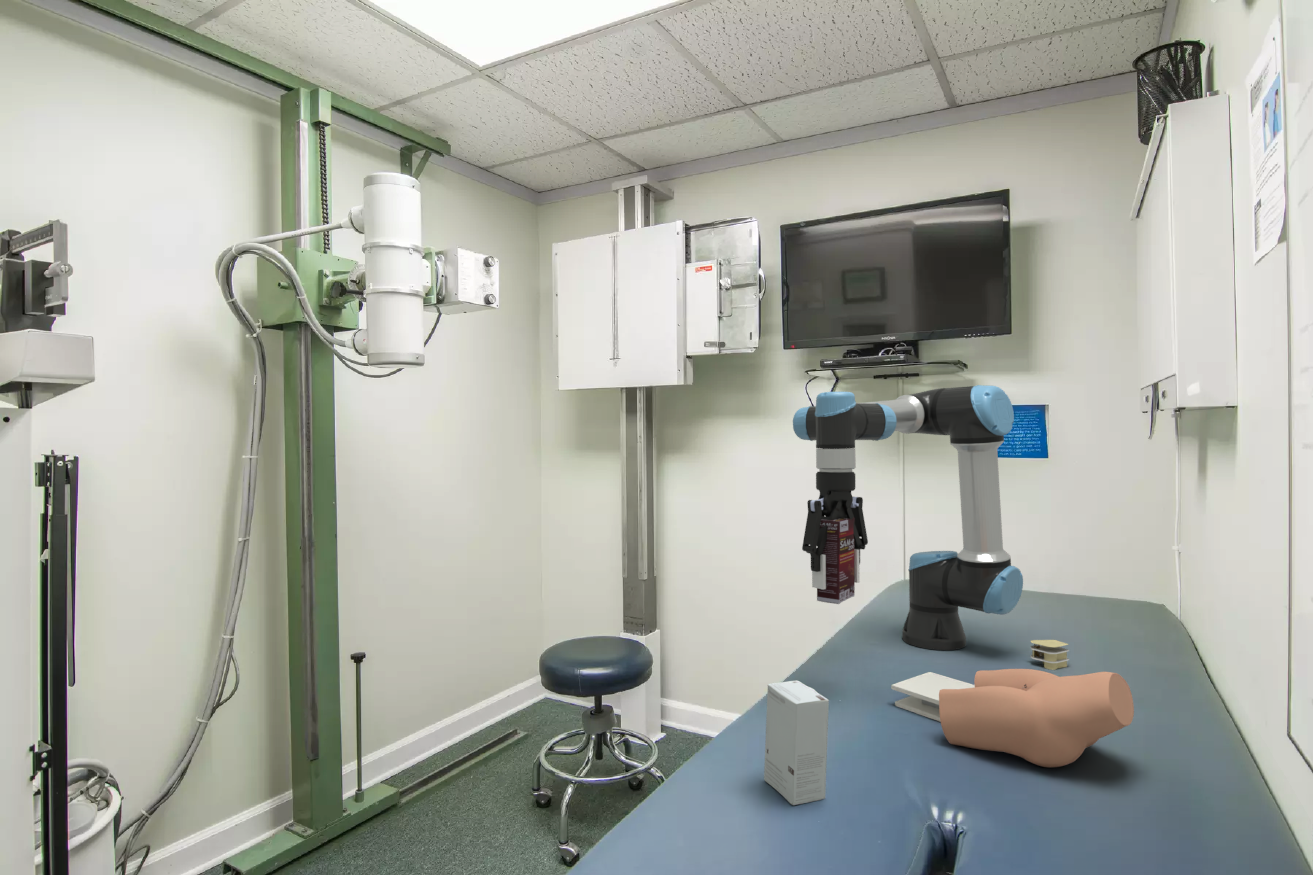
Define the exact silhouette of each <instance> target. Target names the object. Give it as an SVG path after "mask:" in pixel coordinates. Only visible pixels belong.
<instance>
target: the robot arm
mask: <svg viewBox="0 0 1313 875" xmlns="http://www.w3.org/2000/svg"><path fill="white" fill-rule="evenodd" d="M1014 415H1015V413H1014V408H1013V404H1012V401H1011V399H1010V397H1009V396H1008V394H1007V393H1006V392H1005V391H1004V390H1003V389H1002V388H1001V387H999V386H996V385H981V384H978V385H977V384H976V385H971V386H968V385H967V386H958V387H956V386H955V387H946V388H945V387H943V388H934V389H929V390H926V391H925V390H923V391H921V392H915V393H911V394H904V395H903V394H902V395H900V396H898V397H897V398H895V399H891V400H889V399H887V400H879V401H867V402H866V401H865V402H856V397H855V394H854V393H853V392H852V391H851V392H850V391H827V392H826V391H824V392H820V393H819V394H818V395H816V400H815V405H813V406H812V405H810V406H805V407H800V408H798V410H796V412H795V413H794V414H793V417H792V418H793V419H792V429H793V431H794V434H795V436H796V437H797V438H799V440H803V441H811V442H813V441H815V448H816V449H815V458H816V460H815V461H816V463H815V464H816V469H817V470H819V471H817V472H816V473H815V488H816V490H817V491H819V496H818V499H815V500H814V499H808V500H807V516H806V522H805V529H804V533H803V534H804V535H803V542H802V547H801V548H802V551H803V552H806V553H807V554H809V555H810V570H811V576H812V577H811V578H812V579H811V580H812V583H811V587H812V588H814V589H817V588H819V589H826V555H823V554H822V553H823V549H824V546H825V543H826V540H827V525H825V526H824V527H822V528H820V523H821V519H823V520H836V519H837V518H848V519H851V520H852V519H853V518H855V520H854V526H853V534H854V567H855V569H854V574H855V581H854V582H855V583H856V584H857V583H860V582H861V581H860V565H861V550H865V549H866V545H868V542H869V540H868V534H867V533H868V532H867V528H866V522H865V517H864V511H863V507H864V506H863V504H864V499H863V497H862V496H853V495H852V494H853V493H852V492H853V491H855V490H856V473H855V472H854V471H853V470H855V469H856V468H857V467H856V462H857V461H856V441H875V442H879V441H882V440H887V439H889V438H890V437H891V436H892V435H893V434H894V432H900V433H902V434H904V435H905V434H906V435H909V434H923V435H924V434H925V435H933V436H934V435H935V436H949V441H950V442H949V443H950V445H951V447H953V448H955V450H956V451H957V462H958V479H959V481H958V482H959V496H960V511H961V512H960V513H961V528H962V529H961V530H962V543H963V544H962V545H963V546H962V547H963V548H962V549H961V550H960V552H957V551H954V550H934V551H933V550H931V551H919V552H916V553H913V554H912V555H911V556H910V557H909V563H908V564H909V566H908V580H909V581H908V583H909V584H908V586H909V587H908V590H909V591H908V592H909V594H908V595H909V596H908V598H909V599H908V600H909V610H908V612H907V616H906V619H905V621H904V625H903V627H902V630H901V632H902V636H901V637H902V640H903V641H904V642H905V643H906V644H908V645H911V646H914V647H917V648H923V649H927V650H936V651H953V650H954V651H955V650H961V649H964V648H965V647H966V646H967V635H966V633H965V630H964V627H963V623H962V621H961V618H960V615H959V608H964V609H969V610H975V611H978V612H983V613H985V614H995V615H1000V616H1001V615H1007V614H1009V613H1010V612H1012V611H1013V610H1014V609H1015V607H1016V606H1017V605H1018V602H1019V601H1020V599H1021V597H1022V592H1023V587H1024V576H1023V573H1022V572H1021V570H1020V569H1019V568H1018V567H1016V566H1014V565H1012V560H1011V555H1010V553H1008V552H1007V551H1006V550H1004V542H1003V528H1002V527H1003V525H1002V511H1001V510H1002V507H1001V506H1002V505H1001V493H1000V492H1001V491H1000V490H1001V489H1000V475H999V474H1000V473H999V457H998V449H999V447H1001V445H1002V444H1003V443H1004V442H1005V439H1004V438H1005V437H1004V436H1005V435H1007V434H1009V433H1010V432H1011V430H1012V428H1013V424H1014V422H1015V416H1014ZM817 546H818V548H817Z"/></svg>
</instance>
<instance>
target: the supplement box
mask: <svg viewBox="0 0 1313 875" xmlns="http://www.w3.org/2000/svg"><path fill="white" fill-rule="evenodd" d="M854 520H855V518H853V519H852V520H851V519H848V518H837V519H836V520H823V519H821V523H820V528H822V527H824V526H825V525H827V540H826V543H825V546H824V549H823V553H822V554H823V555H826V589H819V588H816V602H821V603H826V604H836V605H840V604H841V603H843V602H845V601H847V600H849V599H852V598H853V597H855V592H856V591H855V589H856V588H855V587H856V585H855V582H854V581H855V574H854V569H855V567H854V534H853V526H854ZM817 548H818V546H817Z"/></svg>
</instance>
